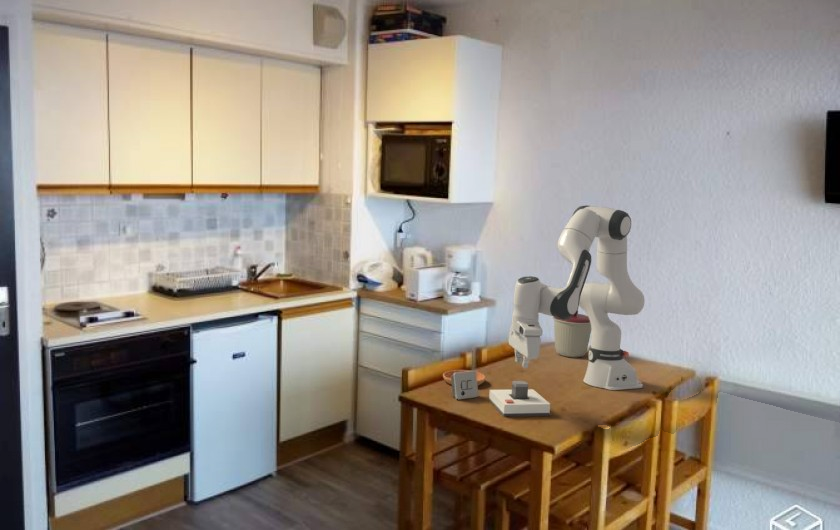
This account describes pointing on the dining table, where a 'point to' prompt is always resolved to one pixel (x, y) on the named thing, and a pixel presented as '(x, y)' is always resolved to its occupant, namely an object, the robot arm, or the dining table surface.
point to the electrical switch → (464, 385)
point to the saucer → (448, 374)
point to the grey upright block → (519, 390)
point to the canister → (572, 335)
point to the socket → (519, 404)
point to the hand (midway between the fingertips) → (521, 365)
